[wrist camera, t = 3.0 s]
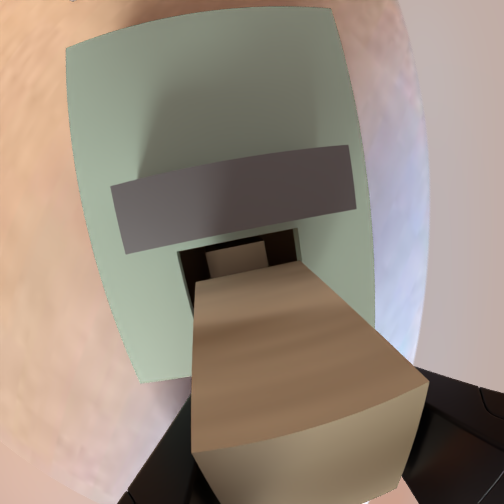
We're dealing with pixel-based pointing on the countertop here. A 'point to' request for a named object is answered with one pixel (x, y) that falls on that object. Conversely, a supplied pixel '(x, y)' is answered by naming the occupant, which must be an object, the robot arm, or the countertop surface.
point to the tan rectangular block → (296, 393)
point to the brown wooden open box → (237, 257)
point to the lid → (215, 160)
